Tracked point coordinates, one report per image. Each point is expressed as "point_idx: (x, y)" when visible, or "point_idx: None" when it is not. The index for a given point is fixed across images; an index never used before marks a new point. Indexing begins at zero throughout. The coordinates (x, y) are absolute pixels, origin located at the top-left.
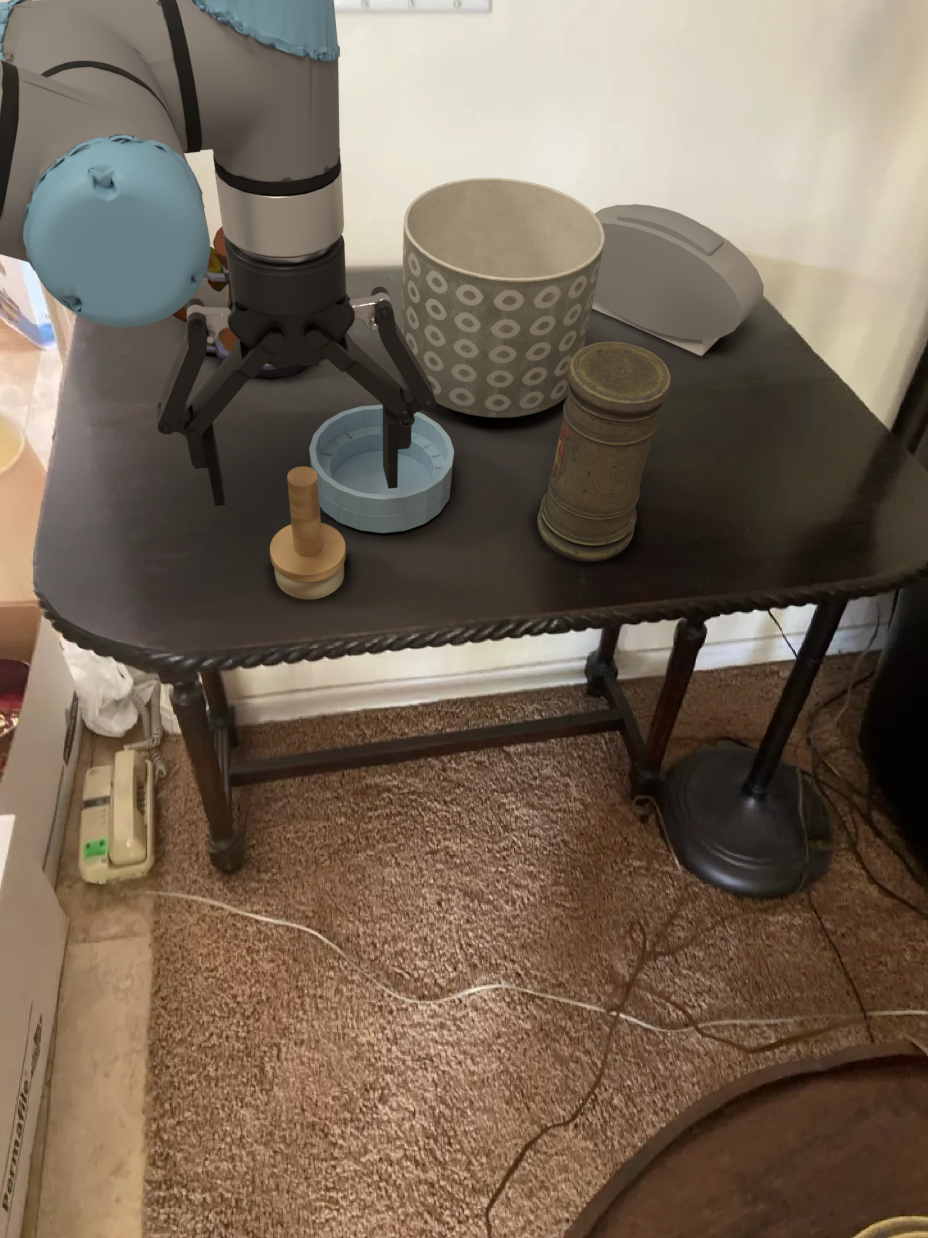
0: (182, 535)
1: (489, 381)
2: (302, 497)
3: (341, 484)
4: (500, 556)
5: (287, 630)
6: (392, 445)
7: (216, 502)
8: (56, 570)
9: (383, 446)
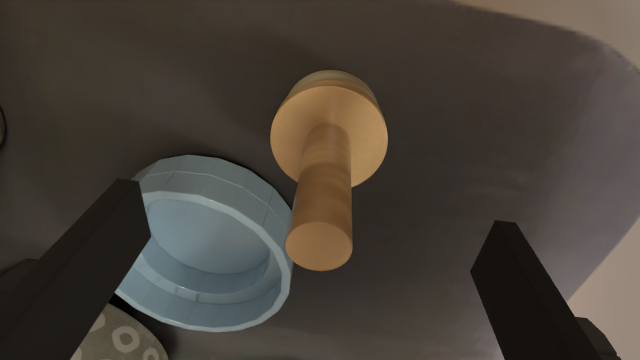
0: (466, 216)
1: None
2: (329, 202)
3: (261, 240)
4: (55, 81)
5: (391, 19)
6: (41, 276)
7: (516, 228)
8: (632, 203)
9: (118, 277)
